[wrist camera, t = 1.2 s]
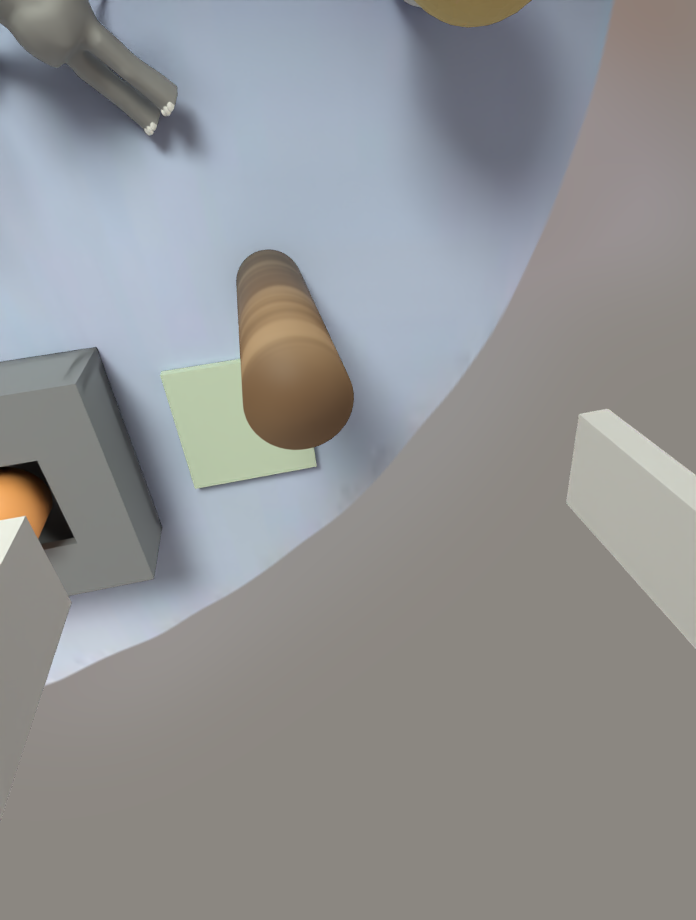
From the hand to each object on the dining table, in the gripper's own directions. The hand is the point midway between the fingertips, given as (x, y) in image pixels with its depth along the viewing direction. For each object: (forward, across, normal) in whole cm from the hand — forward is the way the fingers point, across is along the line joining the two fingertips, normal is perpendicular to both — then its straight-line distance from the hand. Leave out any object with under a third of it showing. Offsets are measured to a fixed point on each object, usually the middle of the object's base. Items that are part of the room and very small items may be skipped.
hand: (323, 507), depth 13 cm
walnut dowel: (+20, 0, 0) cm, 21 cm away
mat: (+20, -3, -8) cm, 22 cm away
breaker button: (+17, -16, -8) cm, 25 cm away
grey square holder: (+20, -16, -8) cm, 27 cm away
